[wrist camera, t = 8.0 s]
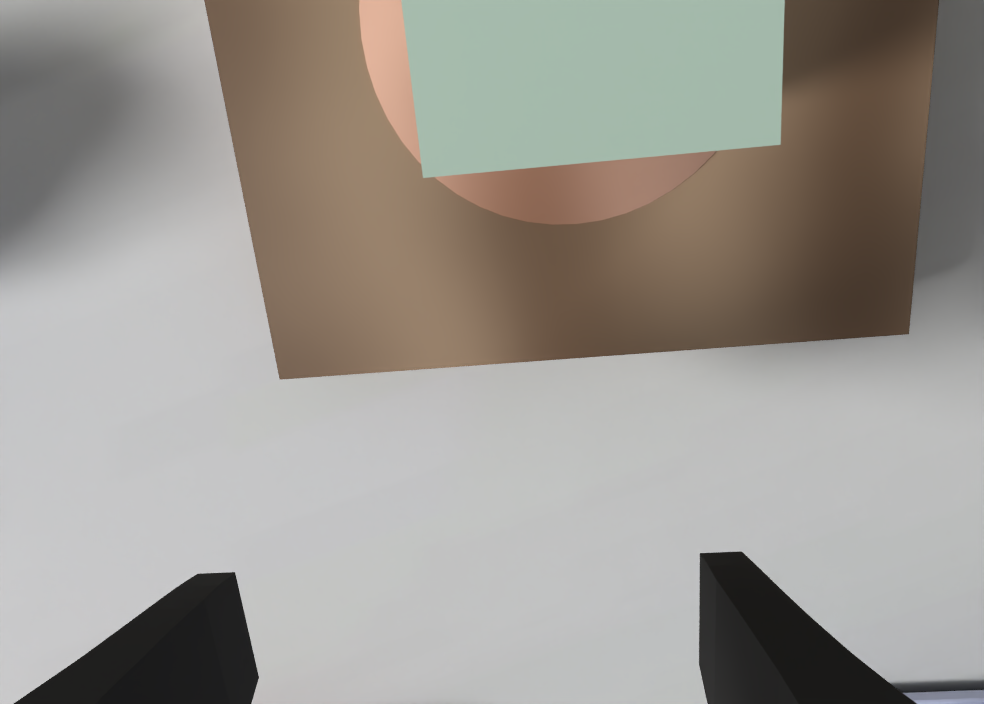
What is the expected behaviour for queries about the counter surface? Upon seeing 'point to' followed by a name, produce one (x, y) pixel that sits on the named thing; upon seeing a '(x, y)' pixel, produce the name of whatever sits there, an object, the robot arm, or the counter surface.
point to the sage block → (590, 80)
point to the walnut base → (569, 204)
